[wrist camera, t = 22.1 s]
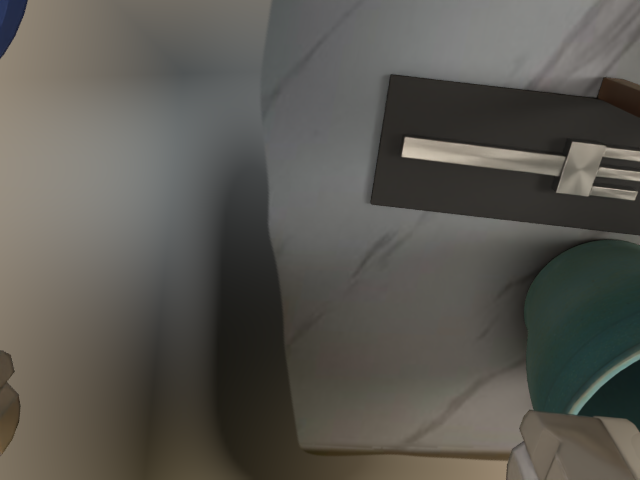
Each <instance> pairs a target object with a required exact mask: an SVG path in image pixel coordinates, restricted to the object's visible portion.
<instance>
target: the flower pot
mask: <svg viewBox="0 0 640 480" xmlns="http://www.w3.org/2000/svg"><path fill="white" fill-rule="evenodd" d="M524 320H525V325H526V328H527V330H528V339H527V349H526V371H527V381H528V387H529V392H530V397H531V401H532V405H533V409H534V410H536V411H546V412H555V413H565V414H574V415H584V416H591V417H593V416H600V417H611V418H622V419H627V420H629V421H630V422H632V423H633V424H634V425H635V426H636V427H637V429H638V430H639V432H640V245H637V244H635V243H631V242H627V241H620V240H599V241H593V242H588V243H585V244H581V245H578V246H576V247H573V248H571V249H569V250H567V251H565V252H563V253H562V254H560V255H559V256H557V257H556V258H554V259H553V260H552V261H550V262H549V263H548V264H547V265H546V266H545V267H544V268H543V269H542V270H541V271H540V273H539V274H538V275H537V276H536V278H535V279H534V281H533V282H532V284H531V286H530V288H529V291H528V293H527V296H526V300H525V305H524Z"/></svg>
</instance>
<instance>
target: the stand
mask: <svg viewBox="0 0 640 480" xmlns="http://www.w3.org/2000/svg"><path fill="white" fill-rule="evenodd" d="M598 99H600V100H602V101H605V102H607V103H609V104H611V105H613V106H615V107H617V108H619V109H622V110H624V111H626V112H628V113H630V114H632V115H634V116H636V117H639V118H640V85H638V84H635V83H632V82H630V81H627V80H624V79H616V78H607V77H604V79H603V82H602V85H601V88H600V91H599V94H598Z"/></svg>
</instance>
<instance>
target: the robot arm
mask: <svg viewBox="0 0 640 480" xmlns="http://www.w3.org/2000/svg"><path fill="white" fill-rule="evenodd" d="M13 373H14V367H13V363H12V358H11V355H10V354H8V353H6V352H4V351H2V350H0V456H1V455H2V454H3V452H4V451H5V449H6V448H7V446H8V445H9V444H10V442H11V441H12V439H13V436H14V434H15V431H16V428H17V426H18V423H19V417H20V401H19V395H18V393H17V392H16V391H15V390H14V389H13V388H12V387H11V386H10V385H9V384H8V383H7V381H8V380H9V378H10V377H11V376H12V374H13ZM519 429H520V432H521V434H522V437H523V440H524V441H523V442H522V443H520V444H519V445H517V446H516V447H515V448H513V449H512V451H511V454H510V457H509V460H508V464H507V476H506V480H640V432H639V430H638V429H637V427H636V426H635V425H634V424H633V423H632V422H630V421H629V420H627V419H622V418H611V417H600V416H593V417H591V416H584V415H574V414H565V413H555V412H546V411H536V410H529V411H528V412H527V413H526V414H525V416H524V417H523V420H522V422H521V425H520V428H519Z"/></svg>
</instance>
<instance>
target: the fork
mask: <svg viewBox="0 0 640 480" xmlns="http://www.w3.org/2000/svg"><path fill="white" fill-rule="evenodd" d="M400 155H401V157H404V158H412V159H420V160H428V161H436V162H444V163H452V164H460V165H468V166H476V167H485V168H493V169H501V170H509V171H517V172H525V173H533V174H541V175H549V176H555V179H554V182H553V186H552V189H553V190H554V191H555V192H556V193H562V194H570V195H578V196H586V197H588V196H589V195H590V196H598V197H606V198H614V199H622V200H630V201H634V200H635V198H636V196H637V193H638V191H636V190H635V189H634V188H632V187H626V186H618V185H610V184H602V183H593V182H594V179H595V176H596V177H603V178H611V179H619V180H627V181H635V182H640V169H638V168H630V167H622V166H614V165H606V164H600V162H601V159H602V157H604V158H612V159H620V160H628V161H636V162H640V148H633V147H624V146H616V145H608V144H603V143H601V142H596V141H588V140H580V139H572V138H568V139H567V142H566V145H565V148H564V151H563V154H561V153H553V152H545V151H536V150H528V149H520V148H512V147H504V146H496V145H488V144H480V143H472V142H464V141H456V140H448V139H440V138H432V137H424V136H415V135H407V134H404V135H403V141H402V146H401V151H400Z"/></svg>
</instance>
